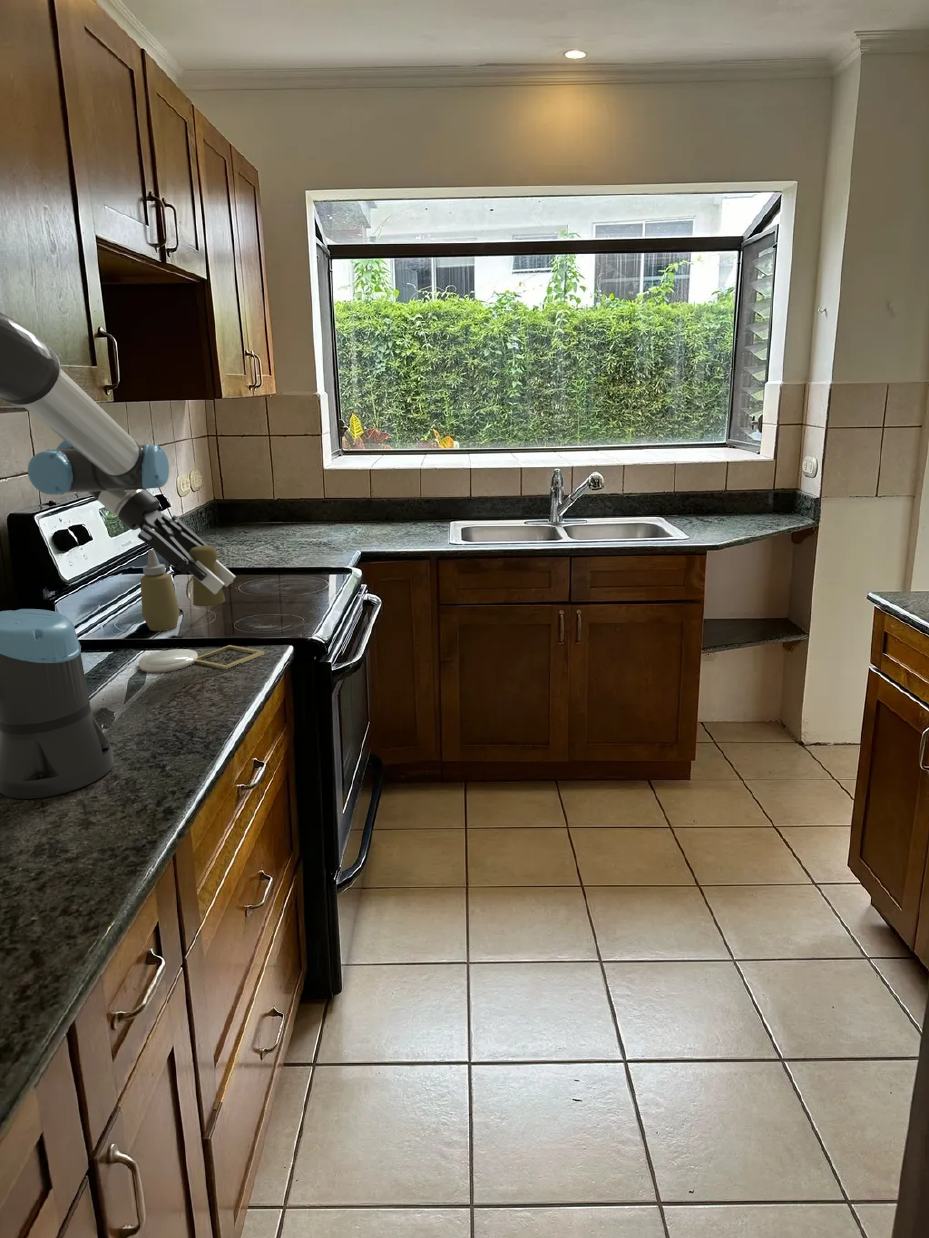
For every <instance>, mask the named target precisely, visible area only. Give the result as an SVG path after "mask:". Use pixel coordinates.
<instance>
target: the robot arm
mask: <svg viewBox="0 0 929 1238" xmlns="http://www.w3.org/2000/svg"><path fill="white" fill-rule="evenodd" d="M0 399H1V400H2V401H4V402H6V403H8V404H10V405H13V406H19V407H23V408H25V410H27V411H28V412H30V414H32V415H33V417H36V419H38V420H39V421H40V422H42V423H43V424H44V425H45V426H46V427H48V428H49V429H50V430H51V431H52V432H53V433H55V434H56V435H57V436H58V437H60V438H61V439H62V440H63V441H61V443H59V445H57V447H56V448H55V449H46V450H43V451H39V452H38V453H35V454H34V455H33V456H32V457H31V459H30V460H29V463H28V465H27V475H28V479H29V481H30V483H31V484H32V486H33V487H34V488H35V489H36V490H37V491H39V492H40V493H42V494H46V495H50V496H51V495H53V496H57V495H65V494H67V493H85V492H86V493H88V494H89V495H90V496H92V497H93V499H96V501H98V502H99V503H100V504H102V505H103V508H104V509H105V510H106V511H109V512H111V513H112V514H113V515H115V516H118V517H117V518H118V520H120V521H121V523H123V524H124V525H125V526H126V527H128V529H130V530H132V531H136V530H141V531H139V533H138V534H137V538H138V539H139V540H141V541H142V542H144V543H145V544H146V545H148V546H149V547H151V549H154V551H155V553H157V554H158V555H159V556H161V557H162V559H164V560H165V561H166V562H167V563H168V564H170V565H171V566H172V567H173V568H174V569H175V570H176V571H178V572H180V573H181V574H183V575H185V574H186V573H187V572H188V573H190V575H192V577H193V576H194V577H195V578H196V579H198V580H199V581H200V582H201V583H202V584H203V585H204V586H206V587H207V588H208V589H209V590H210V591H211V592H212V593H214V594H217V592H218V591H219V590H220V589H221V588H222V589H223V586H224V587H226V588H227V587H228V586H229V585H230V584H231V583H232V582H233V580H235V578H236V577H237V576H236V575H235V574H234V573H232V572H231V571H230V570H229V568H227V567H226V566H225V565H224V564H222V563H221V562H220V561H219V560H218V559H217V560H216V562H215V564H216V567H217V571H218V575H219V578H220V579H219V578H218V577H217V576H216V575H214V574H213V573H212V572H211V571H210V570H209V569H208V568H206V567H205V566H204V565H203V564H202V563H201V562H199V561H196V563H194V562H195V560H194V559H193V558H192V557H191V556H190V555H189V552H190V550H191V549H192V548H194V547H197V546H210V545H209V544H208V543H206V542H205V541H204V540H203V538H201V537H199V536H198V535H197V533H195V532H194V531H193V530H192V529H190V528H189V527H188V526H186V524H184V523H183V522H182V520H181V519H180V518H179V517H178V516H177V515H172V517H171V518H170V517H169V516H167V515H166V514H164V513H162V512H161V511H160V510H159V509H160V508H159V507H160V505H161V502H160V500H159V499H158V498H156V497H155V496H154V495H153V494H152V493H151V492H149V491H148V490H150V489H157V488H158V489H159V488H162V487H164V486H165V485H166V484H167V483H168V480H169V477H170V476H169V475H170V465H169V460H168V456H167V454H166V451H165V450H164V448H162V447H161V446H160V445H158V444H148V443H145V444H139V443H138V442H137V441H136V440H135V439H134V438H133V437H132V436H130V435H129V434H128V433H127V432H126V430H125V429H124V428H123V427H121V426H120V424H118V423H117V422H116V420H114V419H113V418H112V417H111V416H110V415H109V414H108V413H107V412H106V411H105V410H104V409H103V408H102V407H101V406H100V405H99V404H98V403H97V402H96V401H95V400H94V399H92V398H91V396H90V395H89V394H87V392H85V390H83V388H81V387H80V386H79V385H78V384H77V383H76V382H75V381H74V380H73V379H72V378H71V377H70V376H69V375H68V374H67V373H66V372H65V371H64V370H63V369H62V368H61V362H60V359H59V357H58V356H57V354H56V353H55V351H54V350H53V349H52V348H51V347H50V346H49V345H48V344H47V343H45V342H44V340H43V339H41V338H40V337H39V336H38V335H37V334H35V333H34V332H33V331H31V330H30V329H29V328H27V327H26V326H24V325H23V324H21V323H19V322H18V321H17V320H15V319H13V318H12V317H10V316H8V315H6V314H5V313H3V312H0ZM75 628H76V627H75V625H74V623H73V622H72V620H70V619H69V618H68V617H67V616H66V615H64V614H62V613H61V612H57V611H52V610H47V609H37V608H36V609H35V608H20V609H16V610H11V609H9V610H2V611H0V794H1V795H3V796H5V797H8V798H11V799H13V798H14V799H24V800H25V799H29V800H31V799H42V798H49V797H54V796H57V795H61V794H65V793H69V792H73V791H75V790H79V789H81V788H83V787H86V786H88V785H90V784H92V783H94V782H96V781H97V780H100V779H101V778H103V777H104V776H106V775H107V774H108V773H109V772H110V771H111V770H112V768H113V767H114V765H115V758H114V753H113V752H114V751H113V747H112V746H111V743H110V741H109V739H108V738H107V736H106V734H105V733H104V732H103V730H102V728H101V726H100V725H99V723H98V722H97V720H96V718H95V717H94V715H93V712H92V707H91V703H90V698H89V693H88V692H89V691H88V686H87V681H86V676H85V671H84V665H83V659H82V653H81V650H82V649H81V648H82V645H81V644H80V641H79V638H78V635H77V631H76V629H75Z"/></svg>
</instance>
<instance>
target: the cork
mask: <svg viewBox="0 0 929 1238" xmlns="http://www.w3.org/2000/svg"><path fill="white" fill-rule="evenodd" d="M188 554H189V555H190V556H191V557H192V558H193V559H194V560H195V562H194V563H196V561H199V562H201V563H202V564H203V565H204V566H205V567H206V568H208V569H209V570H210V571H211V572H212V573H213V574H214V575H216V576H217V577H218V578H219V575H218V571H217V567H216V564H215V562H216V560H218V553H217V550H216V548H215V547H214V546H211V545H209V546H197V547H194V548H192V549H191V550H190V552H189V553H188ZM219 579H220V578H219ZM192 600H193V601H192V605H193V606H196V607H212V606H216V605H220V604H223V603H226V598H225V594H224V591H223V587H222V588H221V589H220V590H219V591H218V592H217V594H214V593H212V592H211V591H210V590H209V589H208V588H207V587H206V586H204V585H203V584H202V583H201V582H200V581H199V580H198V579H196V578H195V577H194V576H193V575H192Z"/></svg>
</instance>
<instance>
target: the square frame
mask: <svg viewBox="0 0 929 1238" xmlns="http://www.w3.org/2000/svg"><path fill="white" fill-rule="evenodd" d="M228 649H229V650H231V649H233V651H237V650H238V651H237V652H242V653H249V654H250V655H247V656H246V657H243V658H240V659H237V660H234V661H233V662H230V663H228V664H227V663H226V664H222V663H218V662H212V661H208V660H205V659H207V658H206V657H208V658H210V657H212V656H211V655H213V656H215V655H214V654H216V655H218V654H222V653H223V652H226V651H228ZM225 650H226V651H225ZM263 655H265V650H258V649H253V648H248V647H242V646H237V645H232V644H229V645H226V646H223V647H220V648H218V649H215V650H213V651H210V652H207V653H205V654H202V655H198V657H197V659H195V660H194V662H195V663H198V664H197V665H200V664H202V665H201V666H205V665H207V666H206V667H210V666H212V667H211V668H215V667H217V668H216V669H222V670H225V669H227V670H229V669H231V667H232V668H234V667H236V666H238V665H237V664H239V663H241V664H244V663H246V662H248V661H251V660H253V659H256V658H259V657H260V656H263ZM209 656H210V657H209ZM195 663H194V664H195ZM235 665H236V666H235ZM239 665H240V664H239ZM233 666H234V667H233ZM228 668H229V669H228Z"/></svg>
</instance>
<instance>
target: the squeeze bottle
mask: <svg viewBox="0 0 929 1238" xmlns="http://www.w3.org/2000/svg"><path fill="white" fill-rule="evenodd" d="M147 551H148V552H147V564H146V565H144V566H142V572H143V576H142V577H141V578H140V594H141V595H140V596H141V597H140V598H141V612H142V613H141V615H142V616H141V617H142V618H143V620H144V621H145V623H146V625H147V627H148V629H149V630H150V631H153V632H161V631H162V632H163V631H168V630H173V629H174V628H177V626H178V621H179V616H180V612H181V611H180V607H179V606H180V605H179V602H178V599H177V596H176V595H177V594H176V590H175V587H174V584H173V583H174V582H173V580H172V575H170V574H169V573H166V572H167V571H166V564H164V563H160V561H159V558H158V556H157V554H156V551H155V550H154V549H153V548H151V549H148V550H147Z"/></svg>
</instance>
